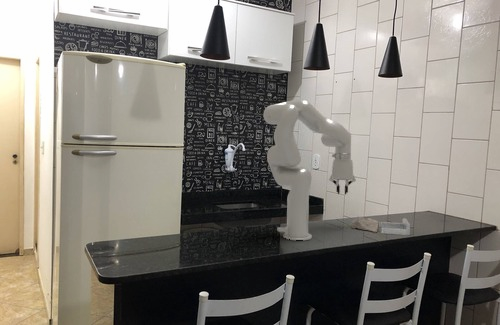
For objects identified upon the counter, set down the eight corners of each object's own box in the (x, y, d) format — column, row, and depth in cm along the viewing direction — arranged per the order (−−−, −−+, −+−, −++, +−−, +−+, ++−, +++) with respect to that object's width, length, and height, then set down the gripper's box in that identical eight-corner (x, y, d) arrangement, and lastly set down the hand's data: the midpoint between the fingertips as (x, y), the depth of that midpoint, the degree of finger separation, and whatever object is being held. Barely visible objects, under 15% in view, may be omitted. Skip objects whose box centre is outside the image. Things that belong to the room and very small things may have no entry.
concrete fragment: (373, 233, 189) (374, 220, 189) (349, 228, 200) (349, 216, 200) (382, 231, 194) (382, 218, 193) (357, 226, 204) (358, 214, 204)
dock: (381, 233, 188) (381, 222, 188) (379, 226, 203) (379, 217, 202) (409, 235, 185) (410, 224, 185) (405, 228, 200) (405, 218, 199)
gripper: (325, 156, 196) (325, 194, 197) (360, 157, 192) (359, 195, 193) (326, 156, 204) (326, 192, 205) (359, 156, 200) (358, 193, 201)
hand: (342, 193), depth 199 cm, fingers open, 2 cm apart
